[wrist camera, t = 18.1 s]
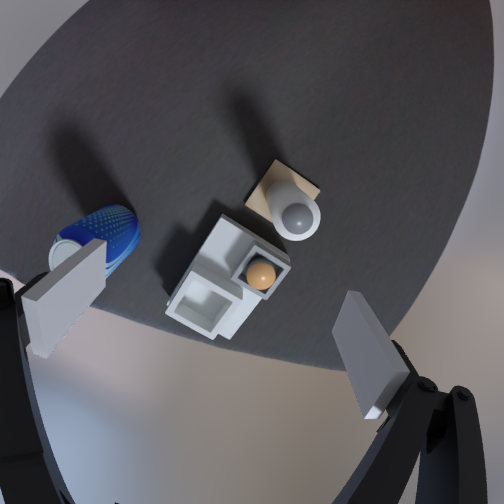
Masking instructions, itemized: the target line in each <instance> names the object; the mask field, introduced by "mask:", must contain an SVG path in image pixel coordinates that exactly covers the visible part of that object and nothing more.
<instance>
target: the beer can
mask: <svg viewBox="0 0 504 504" xmlns="http://www.w3.org/2000/svg"><path fill="white" fill-rule="evenodd" d="M94 238H95V239H100V240H104V241H107V243H106V275H105V279H106V278H107V277H108V276H109V275H110V274H111V273H112V272H113V271H114V270H115V269H116V268H117V266H118V265H119V264H120V263H121V262H122V261H123V260H124V259H125V258H126V257H127V256H128V255H129V254H130V253H131V252H132V251H133V250H134V249H135V247H136V246H137V244H138V242H139V238H140V227H139V223H138V221H137V219H136V217H135V216H134V214H133V213H132V212H131V211H130V210H129V209H127V208H126V207H124V206H121V205H117V204H111V205H107V206H105V207H103V208H101V209H99V210H97V211H95V212H93V213H92V214H90V215H88V216H86V217H84V218H82V219H80V220H79V221H77V222H75V223H73V224H71V225H70V226H68V227H66V228H64V229H63V230H62V231H60V232H59V233H58V235H57V236H56V238H55V240H54V243H53V246H52V248H51V250H50V253H49V266H50V270H51V271H52V270H53V269H55V268H56V267H57V266H58V265H60V264H61V263H62V262H64V261H65V260H66V259H67V258H69V257H70V256H71V255H73V254H74V253H75V252H77V251H78V250H79V249H81V248H82V247H83V246H85V245H86V244H87V243H89V242H90V241H91V240H93V239H94Z"/></svg>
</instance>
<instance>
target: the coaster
mask: <svg viewBox="0 0 504 504" xmlns="http://www.w3.org/2000/svg"><path fill="white" fill-rule="evenodd" d="M280 180H287V181H290V182H292V183H294V184H295V185H296V186H297V187H299V188H300V189H301V190H302V191H303V192H304V193H306V194H307V195H308V196H309V197H310V198H311V199H312V200H313V201H314V199H315V198H316V196H317V195H318V194H319V192H320V190H319V189H318V188H316V187H315V186H314V185H312V184H311V183H309V182H308V181H307V180H305V179H304V178H302V177H301V176H299V175H298V174H297V173H295V172H294V171H292V170H291V169H289V168H288V167H287V166H285V165H284V164H282V163H281V162H279V161H278V160H276V159H275V160H274V162H273V163H272V165H271V166H270V168H269V169H268V171H267V172H266V174H265V175H264V176H263V178H262V179H261V181H260V182H259V184H258V185H257V187H256V188H255V190H254V191H253V193H252V194H251V196H250V197H249V199H248V200H247V201H246V203H245V205H246V206H247V207H249V208H251V209H252V210H254V211H255V212H257V213H258V214H260V215H261V216H263V217H264V218H266V219H268V220H269V221H271V222H272V223H273V220H272V217H271V213H270V210H269V207H268V204H267V200H266V194H267V191H268V189H269V187H270V186H271V185H272V184H273V183H275V182H277V181H280Z"/></svg>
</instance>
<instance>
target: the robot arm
mask: <svg viewBox="0 0 504 504" xmlns="http://www.w3.org/2000/svg"><path fill="white" fill-rule="evenodd" d="M106 243H107V241H104V240H100V239H95V238H94V239H93V240H91V241H90V242H89V243H87V244H86V245H85V246H83V247H82V248H81V249H79V250H78V251H77V252H75V253H74V254H73V255H71V256H70V257H69V258H67V259H66V260H65V261H64V262H62V263H61V264H60V265H58V266H57V267H56V268H55V269H53V270H52V271H51V272H50V273H49V272H44V273H42V274H39V275H37V276H36V277H35V278H33V279H32V280H31V282H28V283H27V284H26V286H23V287H22V288H21V289H20V290H19V291H17V292H16V293H15V294H14V289H13V283H12V281H11V280H9V279H6V278H0V488H1V491H2V495H3V498H4V501H5V504H75V502H74V500H73V499H72V497H71V495H70V493H69V491H68V489H67V487H66V484H65V482H64V480H63V478H62V475H61V473H60V471H59V468H58V465H57V463H56V460H55V457H54V454H53V452H52V449H51V446H50V443H49V440H48V437H47V434H46V431H45V428H44V424H43V421H42V418H41V414H40V410H39V407H38V403H37V399H36V395H35V391H34V387H33V382H32V377H31V372H30V368H29V362H28V357H27V352H26V346H27V345H28V344H29V343H31V348H32V351H33V353H34V354H36V355H38V356H41V357H43V358H46V359H47V358H48V357H49V356H50V354H51V353H52V352H53V350H54V349H55V348H56V347H57V345H58V344H59V343H60V341H61V340H62V339H63V338H64V336H65V335H66V334H67V332H68V331H69V330H70V329H71V327H72V326H73V325H74V324H75V322H76V321H77V320H78V319H79V317H80V316H81V315H82V314H83V313H84V311H85V310H86V309H87V308H88V307H89V305H90V304H91V303H92V302H93V301H94V299H95V298H96V297H97V296H98V295H99V294H100V292H101V291H102V290H103V289H104V288H105V275H106ZM332 334H333V336H334V339H335V341H336V344H337V347H338V349H339V352H340V354H341V357H342V360H343V362H344V365H345V368H346V370H347V373H348V376H349V379H350V381H351V384H352V386H353V389H354V392H355V395H356V398H357V401H358V403H359V406H360V409H361V412H362V415H363V418H364V419H375V418H376V419H377V418H378V419H379V418H380V416H381V415H382V414H383V412H384V411H385V409H386V411H387V413H388V417H387V418H386V420H385V421H384V422H383V424H382V425H381V426H380V428H379V429H378V430H377V432H378V434H377V435H376V437H375V439H374V441H373V442H372V444H371V446H370V447H369V449H368V451H367V452H366V454H365V456H364V457H363V459H362V460H361V462H360V464H359V465H358V467H357V468H356V470H355V471H354V473H353V474H352V476H351V477H350V479H349V480H348V482H347V483H346V485H345V486H344V487H343V489H342V490H341V492H340V493H339V495H338V496H337V497H336V499H335V500H334V501H333V503H332V504H398V502H399V500H400V498H401V496H402V493H403V491H404V489H405V487H406V485H407V482H408V480H409V478H410V475H411V473H412V471H413V468H414V466H415V463H416V461H417V458H418V455H419V452H420V465H419V476H418V485H417V493H416V500H415V504H487V503H488V502H487V482H486V470H485V459H484V452H483V443H482V437H481V431H480V424H479V419H478V413H477V408H476V403H475V398H474V396H473V394H472V393H471V392H470V391H469V390H468V389H467V388H464V387H462V386H455V387H453V388H452V390H451V391H450V393H444V392H440V391H438V388H437V386H436V384H435V383H434V382H433V381H431V380H430V379H428V378H425V377H422V376H419V375H418V373H417V371H416V370H415V368H414V366H413V365H412V363H411V362H410V360H409V358H408V357H407V355H405V352H404V350H403V349H402V347H401V346H400V345H399V344H398V343H397V342H395V341H394V340H391V339H390V338H389V336H388V335H387V333H386V331H385V330H384V328H383V327H382V325H381V323H380V322H379V320H378V319H377V317H376V316H375V314H374V312H373V311H372V309H371V308H370V306H369V305H368V303H367V302H366V300H365V299H364V297H363V295H362V294H361V292H356V291H350V290H348V292H347V295H346V297H345V300H344V303H343V305H342V308H341V310H340V313H339V315H338V318H337V320H336V323H335V325H334V327H333V330H332ZM420 450H421V451H420ZM115 504H118V503H115Z"/></svg>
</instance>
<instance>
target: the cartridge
mask: <svg viewBox="0 0 504 504" xmlns="http://www.w3.org/2000/svg"><path fill="white" fill-rule="evenodd" d="M266 200H267V204H268V207H269V210H270V213H271V217H272V220H273V223H274V226H275V228H276V230H277V231H278V233H279V234H280V235H281V236H283V237H284V238H286V239H289V240H293V241H299V240H303V239H306V238H308V237H310V236H311V235H312V234H313V233H314V232H315V231H316V230H317V228H318V226H319V223H320V211H319V208H318V206H317V204H316V203H315V202H314V201H313V200H312V199H311V198H310V197H309V196H308V195H307V194H306V193H304V192H303V191H302V190H301V189H300V188H299V187H297V186H296V185H295V184H294V183H292V182H290V181H287V180H280V181H277V182H275V183H273V184H272V185H271V186H270V187H269V189H268V191H267V194H266Z"/></svg>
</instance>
